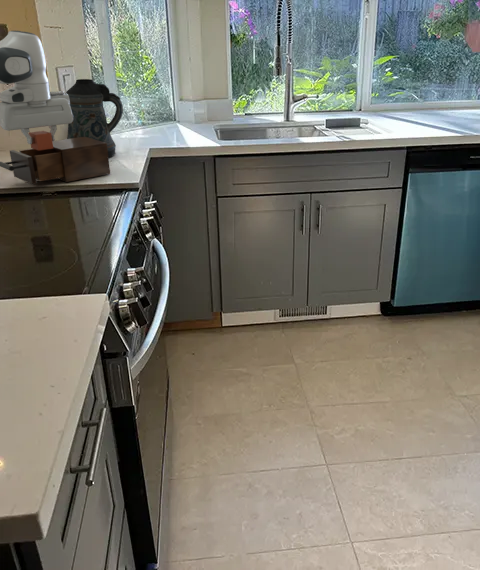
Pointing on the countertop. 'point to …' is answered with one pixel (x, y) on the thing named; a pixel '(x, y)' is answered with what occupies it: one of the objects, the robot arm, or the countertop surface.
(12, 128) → the robot arm
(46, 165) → the drawer
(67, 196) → the countertop surface
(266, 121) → the countertop surface
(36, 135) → the block
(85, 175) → the cabinet
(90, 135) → the dark grey pitcher
